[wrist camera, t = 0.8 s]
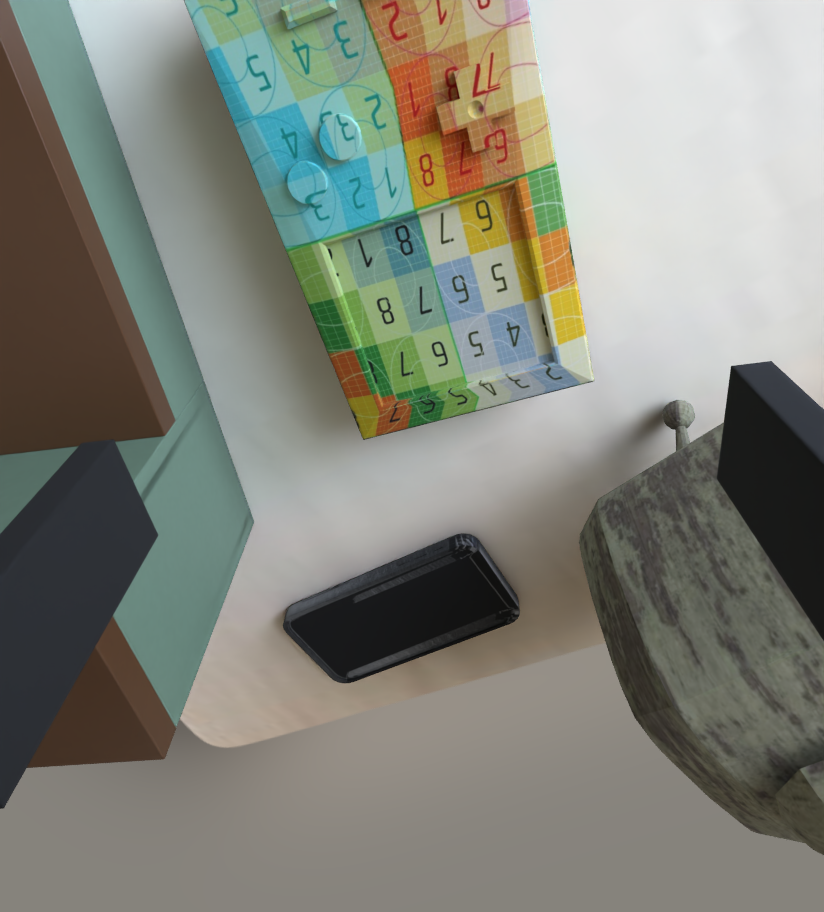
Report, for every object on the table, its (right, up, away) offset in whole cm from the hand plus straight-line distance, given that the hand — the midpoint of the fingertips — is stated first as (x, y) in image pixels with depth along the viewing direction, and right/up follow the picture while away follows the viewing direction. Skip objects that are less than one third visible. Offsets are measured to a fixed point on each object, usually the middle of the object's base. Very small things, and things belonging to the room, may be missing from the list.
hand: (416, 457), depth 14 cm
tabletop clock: (+16, -2, +24) cm, 29 cm away
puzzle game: (0, +12, +16) cm, 20 cm away
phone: (-1, -10, +30) cm, 32 cm away
